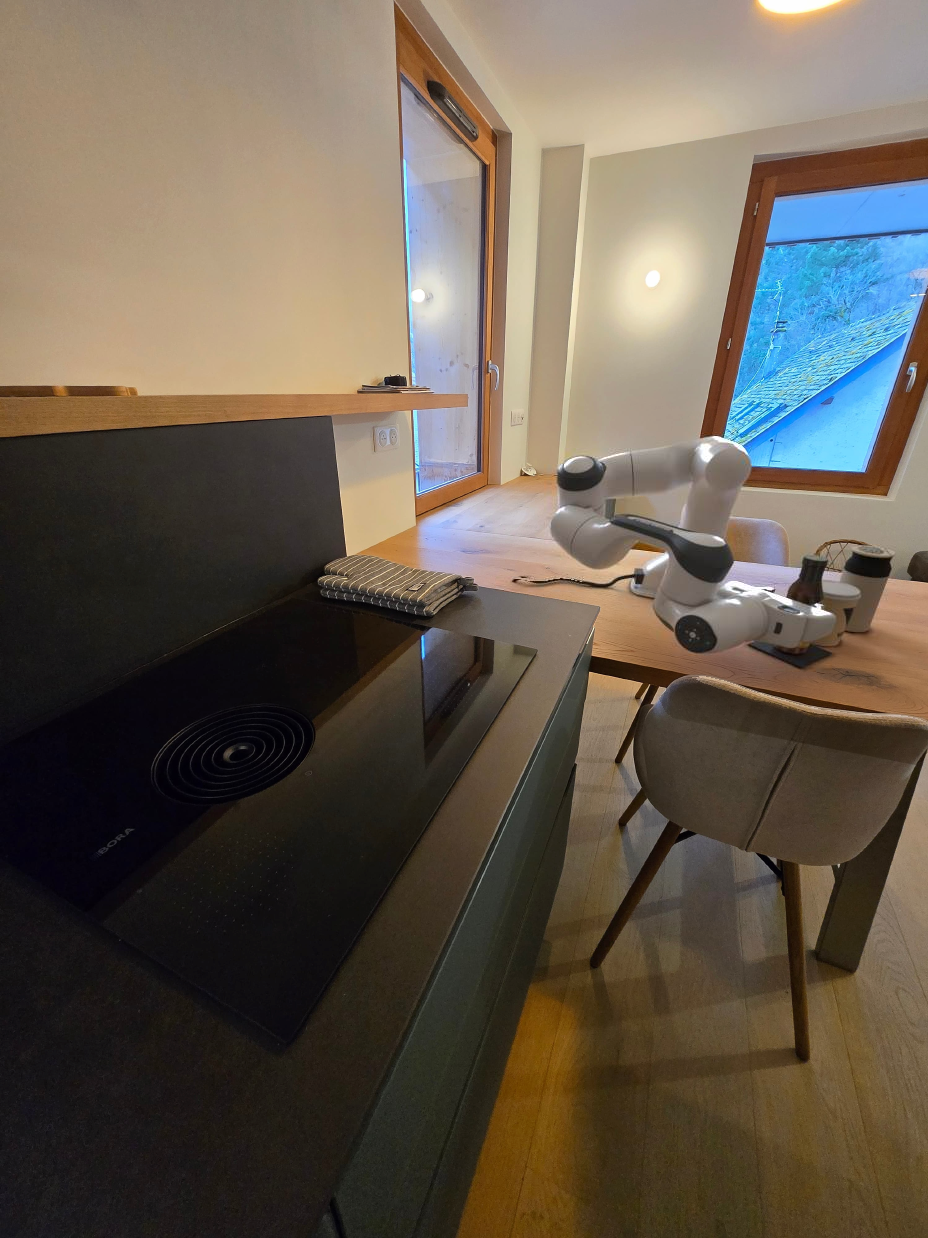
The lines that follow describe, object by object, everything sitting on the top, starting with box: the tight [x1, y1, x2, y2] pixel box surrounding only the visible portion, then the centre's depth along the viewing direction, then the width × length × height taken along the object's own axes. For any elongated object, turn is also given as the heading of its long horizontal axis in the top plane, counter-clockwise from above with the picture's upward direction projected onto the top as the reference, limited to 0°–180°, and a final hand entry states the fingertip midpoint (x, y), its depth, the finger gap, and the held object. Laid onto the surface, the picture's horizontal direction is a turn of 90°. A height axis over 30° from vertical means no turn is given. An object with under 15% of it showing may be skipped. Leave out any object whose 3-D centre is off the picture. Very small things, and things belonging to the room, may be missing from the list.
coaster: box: [747, 641, 833, 669], centre depth 103 cm, size 11×11×1 cm
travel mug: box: [838, 544, 897, 633], centre depth 109 cm, size 8×8×18 cm
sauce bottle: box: [774, 554, 829, 654], centre depth 99 cm, size 7×6×20 cm
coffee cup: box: [810, 579, 861, 647], centre depth 105 cm, size 9×9×12 cm
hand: (794, 599), depth 96 cm, fingers open, 8 cm apart
